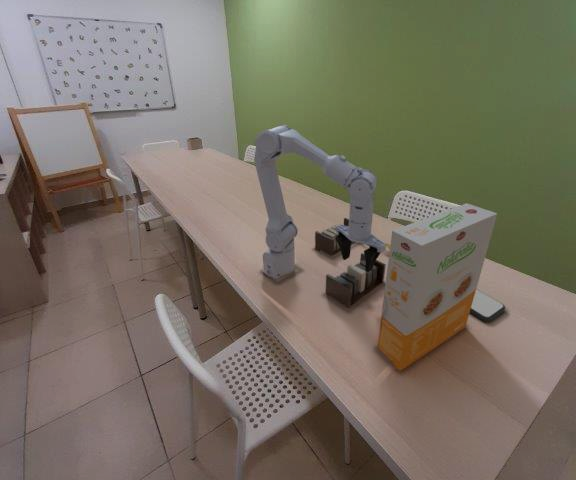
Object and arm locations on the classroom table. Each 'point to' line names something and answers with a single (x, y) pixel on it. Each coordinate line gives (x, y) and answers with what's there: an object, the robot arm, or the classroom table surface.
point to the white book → (357, 276)
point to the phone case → (485, 307)
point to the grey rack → (354, 283)
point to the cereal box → (432, 281)
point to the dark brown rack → (329, 240)
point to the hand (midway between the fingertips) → (357, 264)
